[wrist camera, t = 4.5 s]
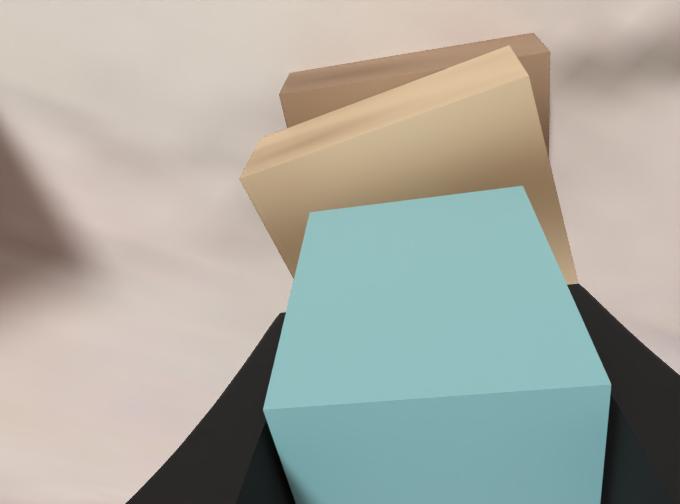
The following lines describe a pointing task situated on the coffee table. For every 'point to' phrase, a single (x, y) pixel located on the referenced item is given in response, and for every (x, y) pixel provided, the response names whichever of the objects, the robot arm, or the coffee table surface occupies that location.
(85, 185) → the coffee table surface
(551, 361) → the teal block
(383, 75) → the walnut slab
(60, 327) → the coffee table surface
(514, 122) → the oak slab
